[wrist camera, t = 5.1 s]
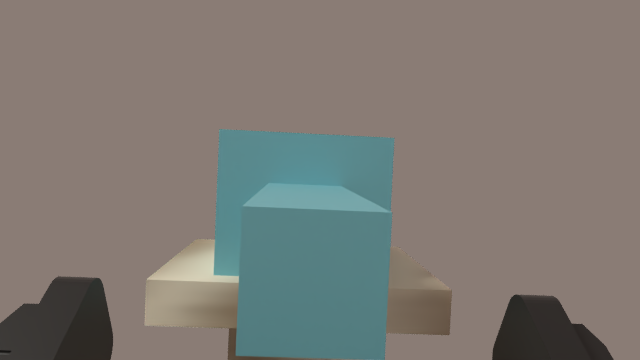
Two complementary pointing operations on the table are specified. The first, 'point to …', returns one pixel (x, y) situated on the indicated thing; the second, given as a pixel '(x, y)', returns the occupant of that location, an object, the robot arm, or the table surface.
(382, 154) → the mallet
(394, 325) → the marble column
